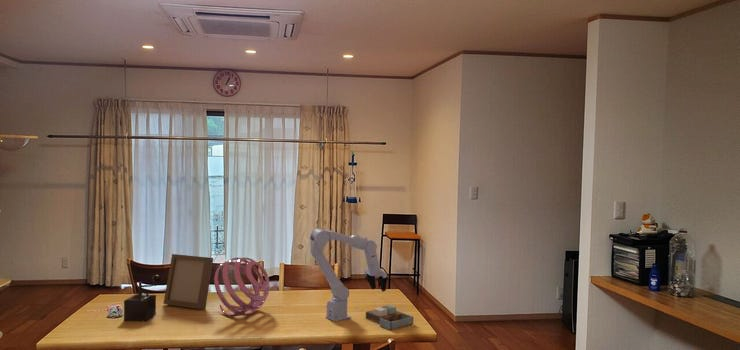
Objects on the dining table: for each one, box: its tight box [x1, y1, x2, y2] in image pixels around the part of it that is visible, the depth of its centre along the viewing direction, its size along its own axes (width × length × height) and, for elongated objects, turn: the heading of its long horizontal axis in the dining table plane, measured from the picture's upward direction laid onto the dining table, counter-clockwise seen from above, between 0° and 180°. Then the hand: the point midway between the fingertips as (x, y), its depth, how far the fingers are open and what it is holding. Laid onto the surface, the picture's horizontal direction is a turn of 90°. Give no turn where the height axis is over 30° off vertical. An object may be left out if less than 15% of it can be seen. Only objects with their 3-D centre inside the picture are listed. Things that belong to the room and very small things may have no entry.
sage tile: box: [382, 304, 397, 314], centre depth 228 cm, size 5×5×3 cm
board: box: [365, 309, 402, 325], centre depth 228 cm, size 13×12×3 cm
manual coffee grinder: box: [123, 274, 162, 322], centre depth 224 cm, size 16×11×18 cm
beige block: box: [373, 306, 388, 316], centre depth 225 cm, size 5×5×3 cm
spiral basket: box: [213, 257, 271, 317], centre depth 231 cm, size 28×28×27 cm
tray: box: [379, 312, 414, 332], centre depth 219 cm, size 14×7×4 cm, turn 130°
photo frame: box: [163, 253, 214, 310], centre depth 244 cm, size 15×22×25 cm
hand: (379, 289), depth 236 cm, fingers open, 7 cm apart
